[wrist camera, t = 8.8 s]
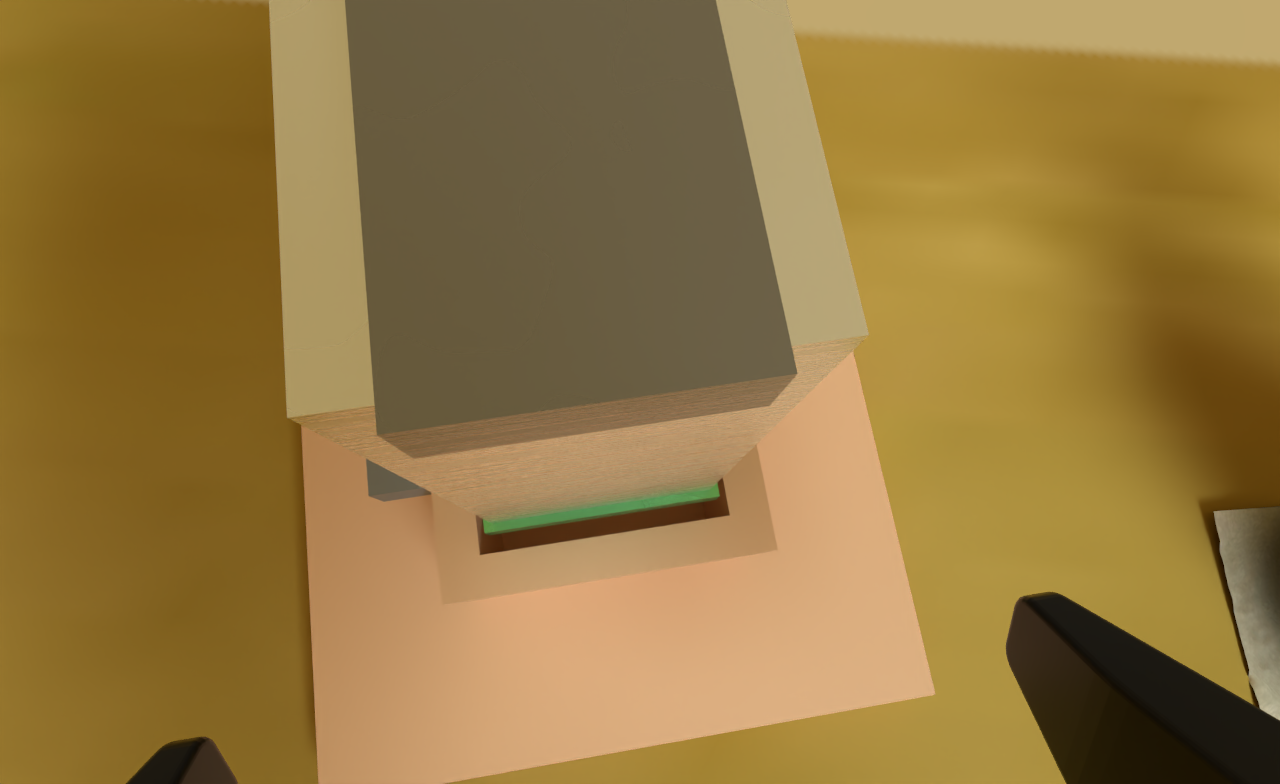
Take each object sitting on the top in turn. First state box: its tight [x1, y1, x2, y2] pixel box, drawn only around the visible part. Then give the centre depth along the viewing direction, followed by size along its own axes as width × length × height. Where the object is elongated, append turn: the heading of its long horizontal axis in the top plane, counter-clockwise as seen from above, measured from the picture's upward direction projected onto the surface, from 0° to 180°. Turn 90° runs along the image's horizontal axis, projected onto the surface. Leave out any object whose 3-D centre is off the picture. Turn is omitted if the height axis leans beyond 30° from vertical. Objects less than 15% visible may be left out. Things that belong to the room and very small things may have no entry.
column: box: [269, 0, 869, 535], centre depth 10 cm, size 5×4×10 cm
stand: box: [301, 351, 935, 784], centre depth 17 cm, size 14×14×5 cm
